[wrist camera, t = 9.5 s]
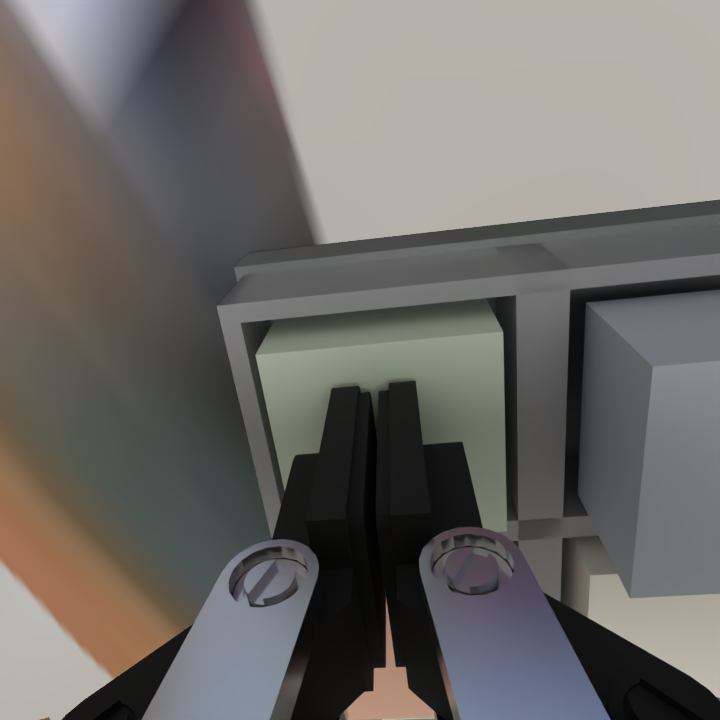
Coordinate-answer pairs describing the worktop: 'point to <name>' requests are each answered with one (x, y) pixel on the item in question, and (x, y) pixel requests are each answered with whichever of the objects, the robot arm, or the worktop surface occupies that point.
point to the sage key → (396, 364)
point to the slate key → (654, 440)
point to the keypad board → (514, 314)
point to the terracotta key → (389, 692)
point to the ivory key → (643, 612)
